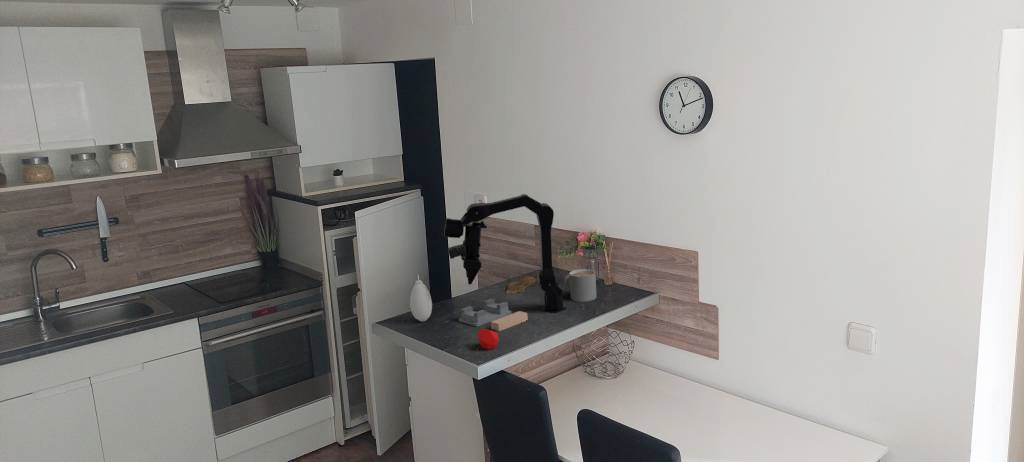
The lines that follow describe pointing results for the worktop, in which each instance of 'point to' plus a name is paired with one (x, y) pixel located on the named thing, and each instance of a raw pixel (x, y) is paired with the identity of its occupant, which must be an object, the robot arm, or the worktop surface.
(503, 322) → the clay bar
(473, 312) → the grey cradle stand
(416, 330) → the worktop surface
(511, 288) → the wooden fragment
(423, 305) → the white air blower bulb
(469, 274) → the robot arm
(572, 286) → the coffee mug
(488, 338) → the apple
